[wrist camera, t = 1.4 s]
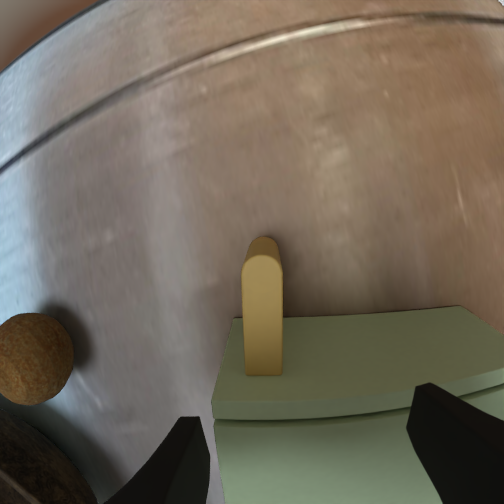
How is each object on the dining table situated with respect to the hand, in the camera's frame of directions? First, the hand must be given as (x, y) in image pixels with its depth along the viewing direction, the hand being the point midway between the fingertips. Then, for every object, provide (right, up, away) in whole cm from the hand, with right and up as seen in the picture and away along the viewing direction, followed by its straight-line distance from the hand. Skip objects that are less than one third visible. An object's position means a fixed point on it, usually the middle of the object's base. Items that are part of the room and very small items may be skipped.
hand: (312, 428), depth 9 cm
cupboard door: (+5, +4, +10) cm, 12 cm away
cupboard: (+5, -5, +12) cm, 14 cm away
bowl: (-26, -17, +16) cm, 34 cm away
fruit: (-17, -1, +12) cm, 21 cm away
